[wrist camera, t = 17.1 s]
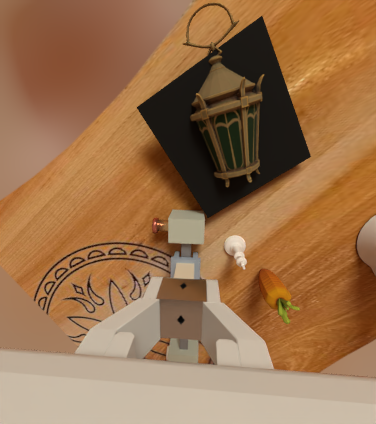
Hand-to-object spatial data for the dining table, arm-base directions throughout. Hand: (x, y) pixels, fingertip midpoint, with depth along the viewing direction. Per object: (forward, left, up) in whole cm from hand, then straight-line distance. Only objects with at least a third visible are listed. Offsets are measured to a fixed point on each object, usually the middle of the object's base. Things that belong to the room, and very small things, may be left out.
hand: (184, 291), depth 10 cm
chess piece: (-10, +14, -37) cm, 41 cm away
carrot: (-17, +20, -37) cm, 45 cm away
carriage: (+1, +17, -34) cm, 38 cm away
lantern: (-5, -12, -37) cm, 40 cm away
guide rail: (+1, +25, -37) cm, 45 cm away
